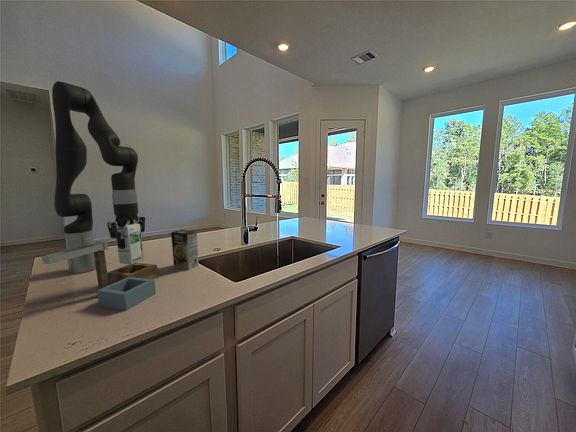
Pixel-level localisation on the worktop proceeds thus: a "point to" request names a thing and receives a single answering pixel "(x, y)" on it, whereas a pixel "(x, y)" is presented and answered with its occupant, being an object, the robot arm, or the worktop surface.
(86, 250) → the bar
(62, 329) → the worktop surface
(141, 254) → the syrup box
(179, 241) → the coffee box
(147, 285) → the blue-grey hollow box
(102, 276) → the socket block
